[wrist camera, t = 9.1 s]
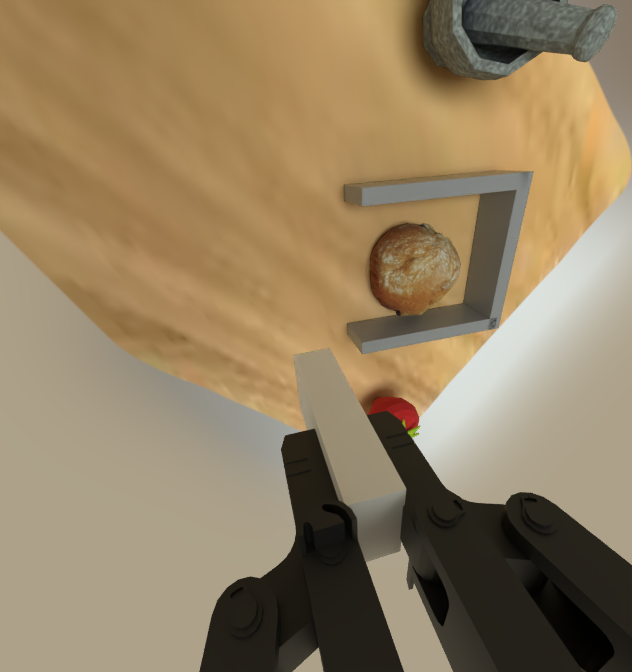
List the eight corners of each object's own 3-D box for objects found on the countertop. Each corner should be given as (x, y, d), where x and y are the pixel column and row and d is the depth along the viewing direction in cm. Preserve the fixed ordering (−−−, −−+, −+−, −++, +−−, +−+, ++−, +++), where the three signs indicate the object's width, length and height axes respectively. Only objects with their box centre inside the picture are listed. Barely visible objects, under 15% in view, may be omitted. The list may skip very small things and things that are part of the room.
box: (344, 184, 33) (362, 187, 28) (496, 170, 36) (533, 171, 32) (347, 334, 41) (362, 354, 37) (471, 311, 44) (498, 327, 40)
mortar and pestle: (382, 22, 28) (476, -63, 17) (463, -91, 26) (625, -263, 15) (453, 128, 33) (558, 111, 22) (526, 40, 31) (678, -21, 20)
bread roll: (433, 238, 42) (481, 218, 34) (429, 318, 42) (476, 316, 34) (361, 228, 39) (396, 204, 31) (358, 315, 39) (392, 312, 32)
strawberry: (344, 409, 46) (371, 465, 38) (380, 371, 45) (417, 420, 36) (371, 425, 49) (402, 480, 41) (406, 390, 48) (446, 439, 39)
